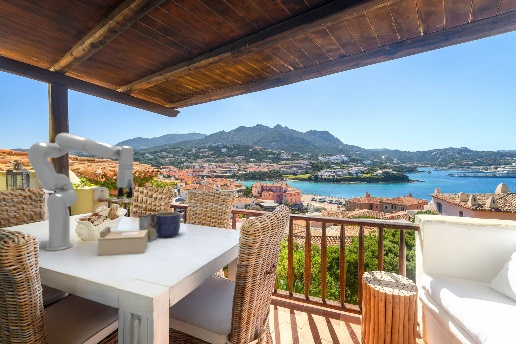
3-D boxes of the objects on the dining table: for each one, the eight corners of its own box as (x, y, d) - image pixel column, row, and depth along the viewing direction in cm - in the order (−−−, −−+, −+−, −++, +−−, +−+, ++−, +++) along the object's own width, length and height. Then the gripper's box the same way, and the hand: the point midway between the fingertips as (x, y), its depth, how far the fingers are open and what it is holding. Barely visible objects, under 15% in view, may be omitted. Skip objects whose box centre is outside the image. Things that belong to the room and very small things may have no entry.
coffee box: (147, 238, 178) (147, 213, 177) (156, 238, 176) (156, 214, 176) (138, 242, 169) (138, 216, 168) (148, 242, 167) (148, 216, 167)
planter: (170, 239, 174) (170, 216, 174) (148, 237, 180) (148, 214, 179) (184, 233, 190) (185, 212, 190) (164, 231, 195) (165, 210, 195)
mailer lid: (97, 239, 142) (97, 232, 142) (105, 232, 157) (105, 226, 157) (143, 237, 148) (143, 230, 148) (147, 231, 163) (147, 224, 163)
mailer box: (98, 255, 143) (98, 240, 142) (106, 247, 157) (106, 233, 157) (143, 252, 148) (143, 238, 148) (147, 245, 163) (147, 231, 162)
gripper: (111, 167, 160) (110, 196, 161) (127, 168, 150) (126, 199, 151) (124, 167, 167) (123, 195, 167) (140, 168, 156) (139, 198, 157)
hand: (124, 197), depth 159 cm, fingers open, 9 cm apart
